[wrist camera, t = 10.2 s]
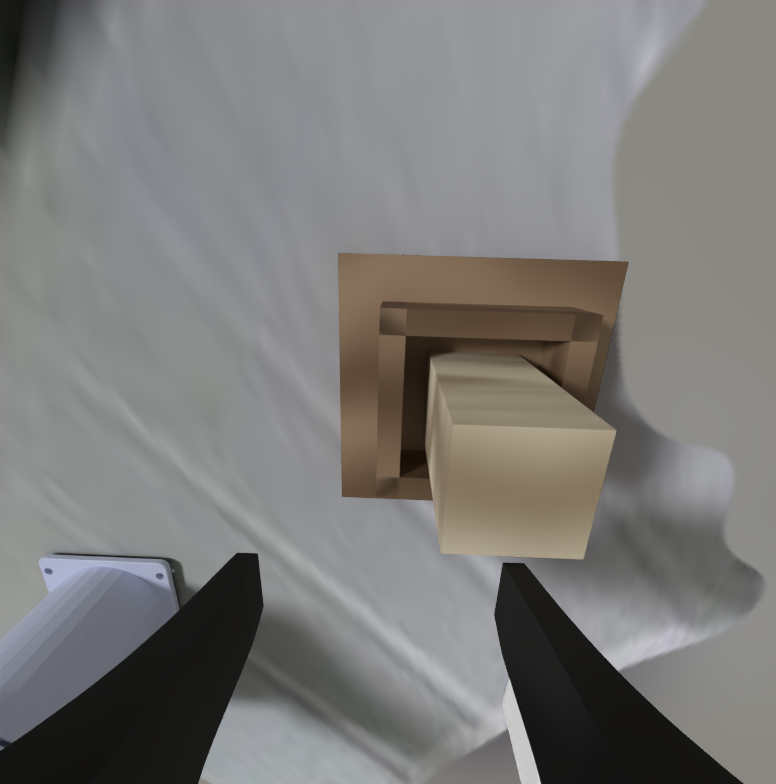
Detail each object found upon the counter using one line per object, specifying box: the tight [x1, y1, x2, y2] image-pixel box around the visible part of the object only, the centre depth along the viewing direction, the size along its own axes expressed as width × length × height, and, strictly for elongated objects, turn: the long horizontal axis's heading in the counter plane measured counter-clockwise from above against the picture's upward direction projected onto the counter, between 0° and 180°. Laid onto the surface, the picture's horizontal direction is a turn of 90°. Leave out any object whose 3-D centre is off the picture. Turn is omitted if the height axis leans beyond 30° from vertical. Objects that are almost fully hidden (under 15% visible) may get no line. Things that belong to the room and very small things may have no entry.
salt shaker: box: [502, 679, 541, 784], centre depth 21 cm, size 4×4×10 cm
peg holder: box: [338, 253, 629, 500], centre depth 17 cm, size 12×12×4 cm
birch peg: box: [423, 351, 617, 559], centre depth 13 cm, size 4×4×8 cm
